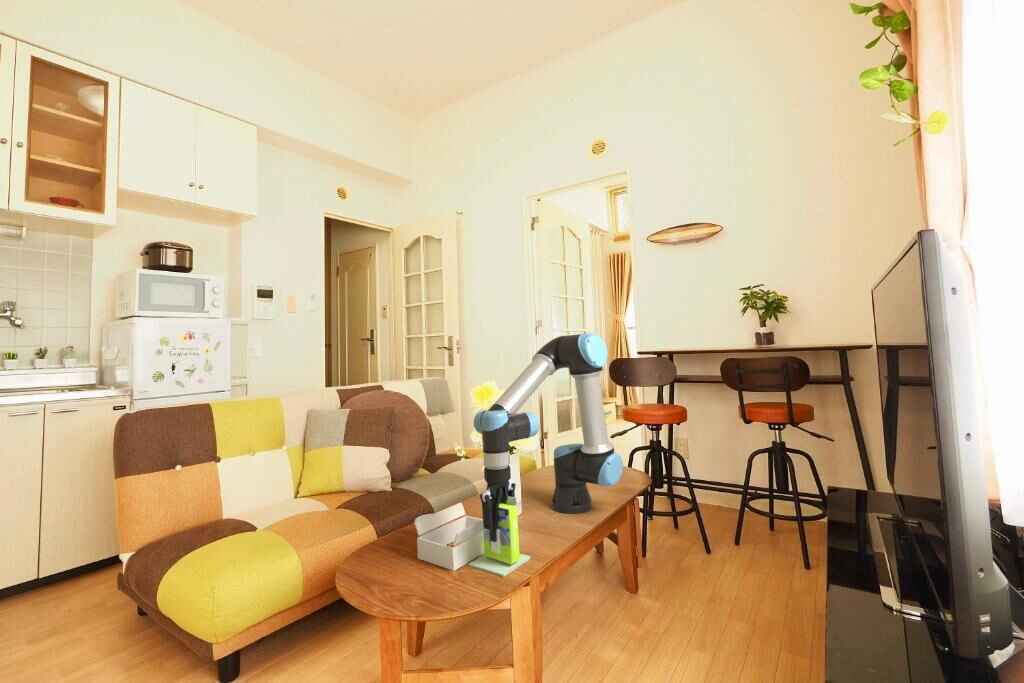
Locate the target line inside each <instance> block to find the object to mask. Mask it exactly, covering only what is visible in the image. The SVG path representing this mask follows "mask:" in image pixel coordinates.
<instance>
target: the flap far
mask: <svg viewBox="0 0 1024 683" xmlns="http://www.w3.org/2000/svg"><path fill="white" fill-rule="evenodd" d="M431 514H432V515H430V516H427V517H425V518H423V519H420V520H418V521H415V520H414V523H413V524H414V526H415V530H416V533H417V536H418V535H421V534H423V533H425V532H427V531H429V530H432V529H434V528H436V527H438V526H440V525H442V526H444V524H445V525H446V524H448V523H450V522H452V521H455V519H456V520H457V519H459V518H460V517H463V516H466V510H465V509H464V505H463V503H462V502H459V503H456V504H454V505H451V506H449V507H447V508H444V509H442V510H440V511H438V512H435V513H431Z"/></svg>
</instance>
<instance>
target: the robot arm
mask: <svg viewBox="0 0 1024 683" xmlns="http://www.w3.org/2000/svg"><path fill="white" fill-rule="evenodd" d="M608 356H609V355H608V347H607V345H606V343H605V341H604V340H603V338H601V337H600V336H599V335H597V334H595V333H580V334H579V333H578V334H571V335H560V336H557V337H555V338H553V339H551V340H550V341H548V342H547V343H545V344H544V345H543V346H542V347H541V348H540V349H538V350H537V352H536V353H535V354H534V355H533V356H532V358H531V362H530V364H528V365H527V367H526V368H525V369H524V370H523V371H522V373H520V374H519V375H518V377H517V378H516V379H515V380H514V381H513V382H512V383H511V384H510V385H509V386H508V387H507V389H506V390H505V391H504V393H502V394H501V396H499V398H498V399H497V400H496V401H495V402H494V403H493V404H492V405H491V406H490V408H489V409H487V410H481V411H479V412H477V413H476V414H475V416H474V418H473V427H474V429H475V431H476V433H479V434H481V437H482V438H481V440H482V452H483V465H484V469H483V473H484V474H483V476H484V481H485V482H486V484H487V485H486V489H485V490H486V491H485V492H484V493H480V495H479V498H480V501H481V508H482V519H483V524H484V529H488V530H490V541H491V549H492V552H495V553H501V547H500V529H497V527H498V507H499V504H500V503H506V501H507V496H510V497H515V496H516V495H515V494H516V493H515V491H516V483H514V482H510V480H511V479H512V478H511V477H512V476H511V475H512V474H511V466H510V464H511V457H510V456H511V455H510V443H511V442H515V441H520V440H524V439H525V440H526V439H529V438H531V437H535V436H536V435H537V434H538V433H539V429H540V422H539V418H538V416H537V415H536V414H534V413H533V412H530V411H529V412H528V411H527V412H521V413H518V412H519V410H520V409H521V408H522V406H524V405H525V403H527V401H528V400H529V398H530V397H531V396H532V395H533V393H535V391H536V390H537V389H538V388H539V386H541V384H543V382H544V381H545V380H546V379H547V378H548V376H553V375H554V373H556V371H558V370H560V369H564V368H565V369H567V368H568V372H569V375H570V376H571V377H572V378H574V383H575V388H576V396H577V405H578V411H579V417H580V423H581V430H582V439H583V443H570V444H563V445H559V446H556V447H555V449H554V450H553V467H554V468H553V469H554V482H555V486H554V491H553V494H552V499H551V508H552V510H554V511H556V512H559V513H563V514H580V513H585V512H588V511H590V510H592V509H593V499H592V497H591V494H590V490H589V489H588V485H587V484H592V485H597V486H600V487H609V488H610V487H614V486H615V485H616V484H617V483H618V482H619V481H620V479H621V476H622V474H623V470H624V462H623V461H624V460H623V458H622V456H621V455H620V454H619V453H617V452H615V447H614V446H615V445H614V444H613V443H611V442H610V441H609V436H608V428H607V421H606V414H605V408H604V402H603V401H604V400H603V393H602V387H601V379H600V375H601V374H602V372H603V370H604V369H603V367H604V366H605V365H606V363H607V362H608V358H609V357H608ZM515 498H516V497H515ZM494 500H496V501H494Z"/></svg>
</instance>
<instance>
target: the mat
mask: <svg viewBox="0 0 1024 683" xmlns="http://www.w3.org/2000/svg"><path fill="white" fill-rule="evenodd" d="M531 559H532V558H531V556H530V555H526V554H523V553H520V560H518V561H517V562H515V563H513V564H512V565H511V564H508V563H505V562H502V561H499V560H496V559H493V558H490V557H487V556H484V554H482V555H480V556H479V557H477V558H475V559H473V560H472V561H470V562H468V566H469V567H472V568H474V569H477V570H480V571H484V572H487V573H491V574H492V575H497V576H500V577H503V578H505V577H506V576H507V575H508V574H510V573H511V572H513V571H515V570H516V569H518V568H519V567H520V566H522V565H523V564H525V563H526V562H527V561H530V560H531Z"/></svg>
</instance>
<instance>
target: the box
mask: <svg viewBox="0 0 1024 683" xmlns="http://www.w3.org/2000/svg"><path fill="white" fill-rule="evenodd" d="M494 501H496V500H494ZM497 529H500V547H501V553H495V552H492V549H491V541H490V530H488V529H484V524H483V535H484V554H483V555H484V556H487V557H490V558H493V559H496V560H499V561H502V562H505V563H508V564H511V565H512V564H513V563H515V562H517V561H518V560H520V554H521V553H520V539H519V538H520V537H519V524H518V507H517V497H510V496H507V501H506V503H500V504H499V507H498V527H497Z"/></svg>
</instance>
